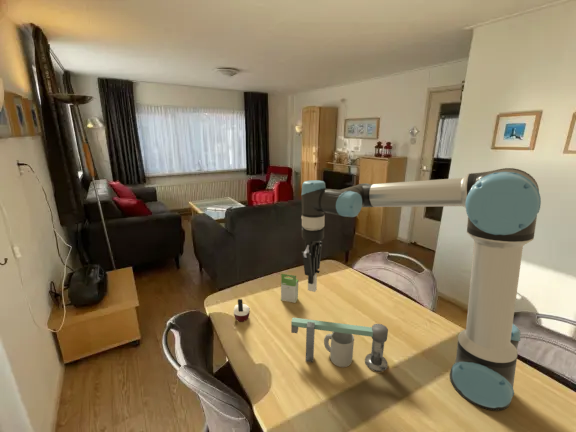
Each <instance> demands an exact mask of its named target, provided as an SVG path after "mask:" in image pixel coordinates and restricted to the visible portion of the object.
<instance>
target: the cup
mask: <svg viewBox="0 0 576 432" xmlns="http://www.w3.org/2000/svg"><path fill="white" fill-rule="evenodd" d="M329 341H330V343H329ZM354 341H355V336H354V334H347V333H339V332H332V333H328V334H326V335H325V336H324V338H323V345H324V348H325V349H326V350H327V351H328V352H329V353H330V355H329V358H330V361H331V362H332V363H333V364H334V365H335V366H336V367H339V368H347V367H349V366H351V364H352V362H353V357H354V356H353V355H354V343H355V342H354Z"/></svg>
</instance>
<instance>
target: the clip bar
mask: <svg viewBox="0 0 576 432" xmlns="http://www.w3.org/2000/svg"><path fill="white" fill-rule="evenodd" d="M307 322H313V323H315V331H317V330H318V331H325V332H332V333H333V332H339V333H347V334H352V335H356V336H363V337H370V338H371V339H372V341H373V340H374V341H376V342H380V343H383V342H384V343H386V342H387V340H388V332H389V329H388V326H386V325H384V324H381V323H374V324H372V326H365V325H364V326H363V325H357V324H356V325H355V324H347V323H340V322H331V321H323V320H315V319H310V318H309V319H307V318H300V317H292V318H291V321H290V324H291V325H290V326H291V327H290V328H291V330H290V331H291V333H292V334H298V332H299V328H303V329H307Z"/></svg>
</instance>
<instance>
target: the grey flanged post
mask: <svg viewBox="0 0 576 432" xmlns="http://www.w3.org/2000/svg"><path fill="white" fill-rule="evenodd" d="M384 349H385V342H383V343H380V342H376V341H374V340H373V339H372V342H371V351H370V352H371V353H368V354H366V356H365V358H364V364H365V366H366V367H367V368H368V369H369V370H371V371H373V372H377V373H381V372H385V371H386V370H387V368H388V360H387V359H386V357H384V351H385V350H384Z"/></svg>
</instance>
